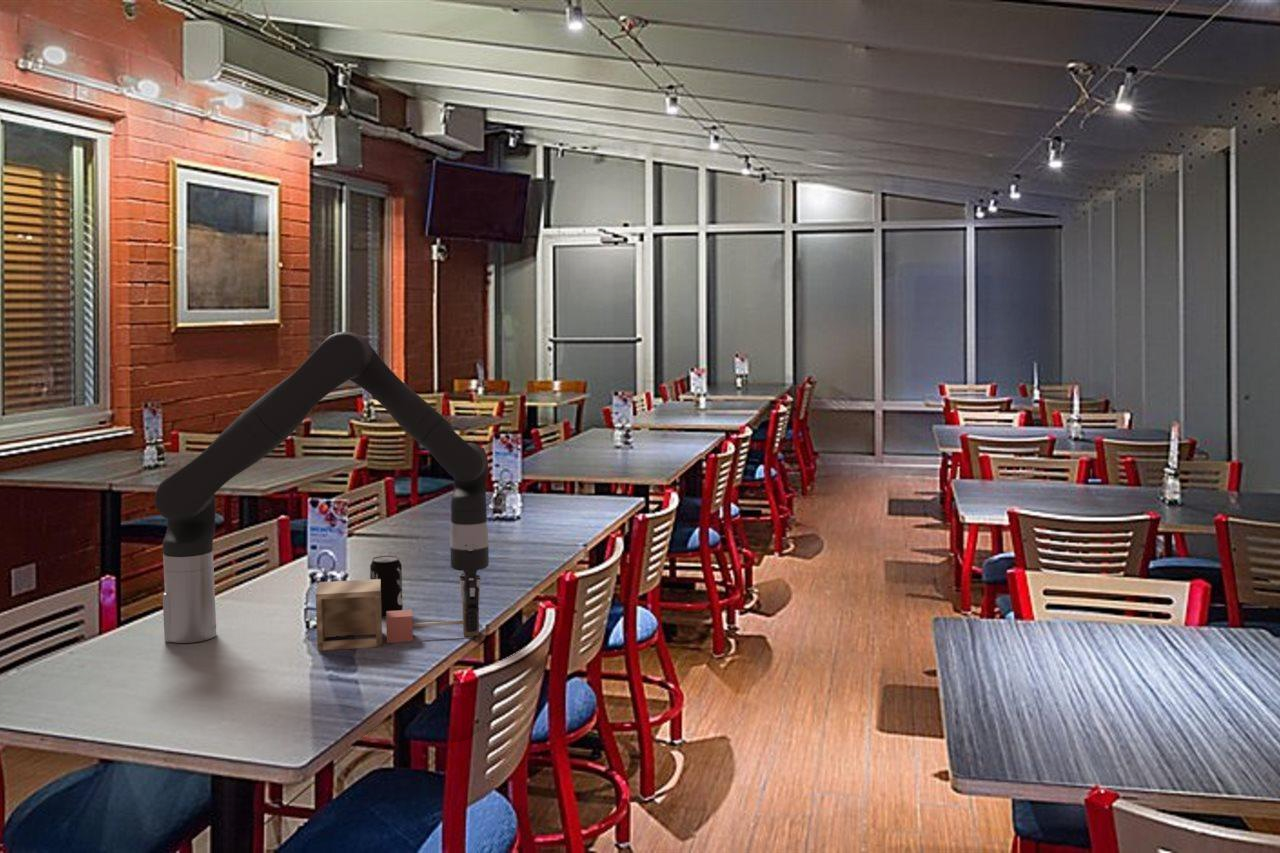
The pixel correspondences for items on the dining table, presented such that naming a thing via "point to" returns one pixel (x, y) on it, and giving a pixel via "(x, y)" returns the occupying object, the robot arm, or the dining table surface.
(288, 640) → the dining table surface
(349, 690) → the dining table surface
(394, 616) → the corded block
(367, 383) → the robot arm
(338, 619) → the oak shelf
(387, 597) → the beverage can
